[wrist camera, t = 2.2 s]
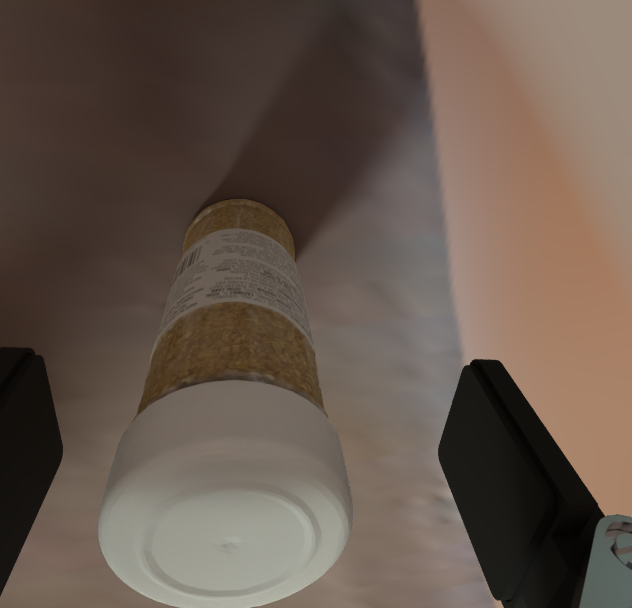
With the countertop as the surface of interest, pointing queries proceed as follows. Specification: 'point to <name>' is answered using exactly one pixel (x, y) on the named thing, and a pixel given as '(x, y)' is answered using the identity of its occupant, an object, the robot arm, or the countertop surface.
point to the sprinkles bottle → (229, 431)
